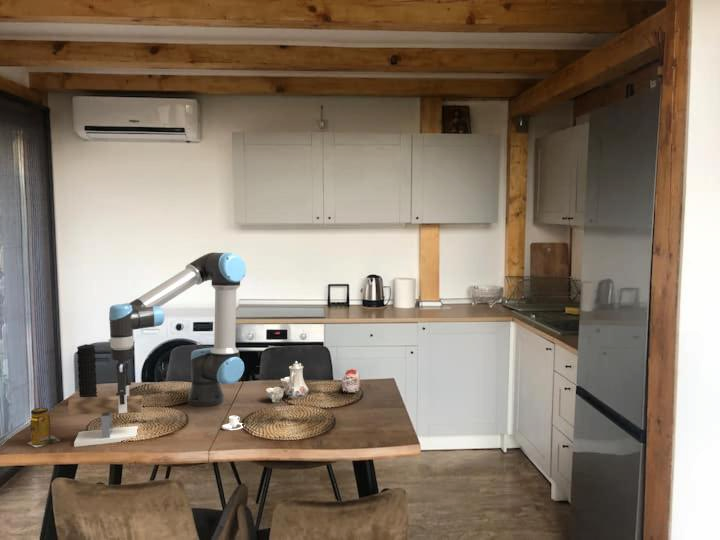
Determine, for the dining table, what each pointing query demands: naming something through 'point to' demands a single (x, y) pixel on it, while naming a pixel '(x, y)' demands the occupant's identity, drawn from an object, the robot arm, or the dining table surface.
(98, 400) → the walnut batten
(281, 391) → the chinaware
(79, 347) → the handle grip
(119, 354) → the robot arm
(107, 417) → the steel ridge
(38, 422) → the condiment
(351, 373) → the food item
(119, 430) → the white board
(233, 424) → the teacup and saucer
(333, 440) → the dining table surface
